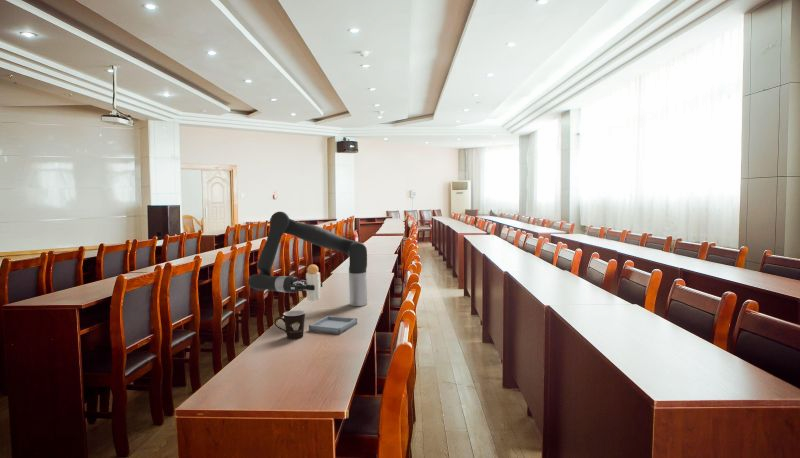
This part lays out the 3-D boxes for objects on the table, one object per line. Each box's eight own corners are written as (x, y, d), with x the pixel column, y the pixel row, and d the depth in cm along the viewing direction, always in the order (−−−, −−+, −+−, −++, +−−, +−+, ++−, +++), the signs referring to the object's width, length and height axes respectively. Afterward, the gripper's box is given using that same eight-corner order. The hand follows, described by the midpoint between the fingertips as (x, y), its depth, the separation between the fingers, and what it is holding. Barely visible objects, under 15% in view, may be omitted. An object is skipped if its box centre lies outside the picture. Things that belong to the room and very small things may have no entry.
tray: (328, 320, 204) (328, 315, 204) (357, 323, 198) (357, 318, 198) (309, 331, 189) (308, 325, 189) (339, 334, 183) (339, 328, 183)
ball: (311, 273, 204) (311, 263, 204) (320, 274, 203) (320, 263, 202) (305, 275, 200) (304, 265, 199) (314, 276, 198) (314, 265, 198)
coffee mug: (308, 333, 185) (307, 310, 184) (302, 340, 177) (301, 316, 176) (281, 333, 186) (280, 310, 185) (274, 340, 178) (273, 315, 177)
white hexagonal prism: (312, 297, 206) (311, 271, 205) (323, 297, 204) (322, 272, 203) (304, 300, 200) (303, 273, 199) (316, 300, 198) (315, 274, 197)
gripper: (277, 279, 200) (309, 281, 194) (295, 273, 213) (326, 275, 207) (278, 295, 201) (309, 298, 194) (296, 288, 214) (326, 290, 208)
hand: (318, 286), depth 201 cm, fingers closed on white hexagonal prism, 6 cm apart
